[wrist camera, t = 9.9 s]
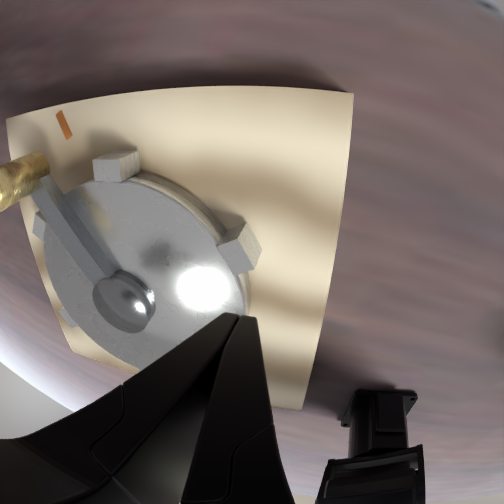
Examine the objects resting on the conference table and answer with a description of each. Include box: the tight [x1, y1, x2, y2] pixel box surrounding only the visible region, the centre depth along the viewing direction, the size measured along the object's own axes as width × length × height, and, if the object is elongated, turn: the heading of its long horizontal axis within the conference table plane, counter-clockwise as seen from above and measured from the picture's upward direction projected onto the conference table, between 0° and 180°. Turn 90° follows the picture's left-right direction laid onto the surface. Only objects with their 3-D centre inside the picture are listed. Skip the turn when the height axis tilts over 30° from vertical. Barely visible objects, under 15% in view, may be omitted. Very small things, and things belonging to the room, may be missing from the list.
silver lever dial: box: [0, 151, 262, 372], centre depth 18 cm, size 19×16×7 cm
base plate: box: [6, 86, 354, 411], centre depth 22 cm, size 24×24×3 cm
